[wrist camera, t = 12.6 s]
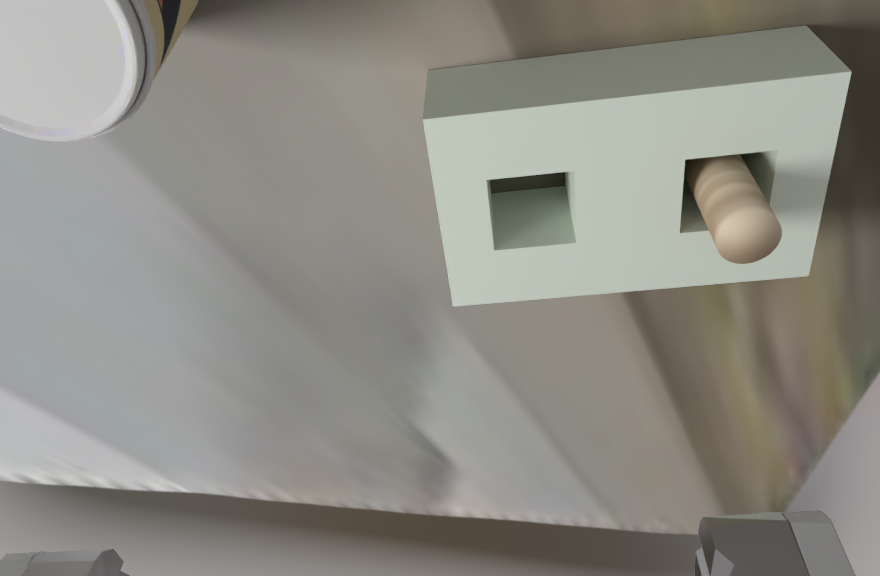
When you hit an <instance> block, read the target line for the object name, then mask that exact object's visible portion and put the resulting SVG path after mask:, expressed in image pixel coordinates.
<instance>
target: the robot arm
mask: <svg viewBox="0 0 880 576" xmlns="http://www.w3.org/2000/svg"><path fill="white" fill-rule="evenodd" d="M698 533H699V537H700V541H701V544H702V547H701V548H700V549H699V550H698V551H696V555H695V566H694V567H695V576H856V575H855V573H854V571H853V569H852V566H851V564H850V562H849V560H848V557H847V555H846V553H845V551H844V548H843V546H842V544H841V542H840V539H839V537H838V535H837V532H836V530H835V528H834V526H833V523H832V521H831V519H830V518H829V517H828V516H827V515H826V514H825V513H824V512H822V511H819V510H818V511H817V510H816V511H801V512H786V513H779V512H771V513H757V514H743V515H728V516H714V517H703V518H702V519H701V521H700V525H699V531H698ZM122 564H123V560H122V559H121V558H120V557H119V555H118V554H117V553H116V552H115V550H114V549H102V550H83V551H82V550H81V551H61V552H29V553H15V554H6V555H5V556H4V557H3V558H2V559H1V560H0V576H129V575H127V574H125V573H123V572H122V571H120V570H121V567H122Z"/></svg>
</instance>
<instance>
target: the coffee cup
mask: <svg viewBox="0 0 880 576" xmlns="http://www.w3.org/2000/svg"><path fill="white" fill-rule="evenodd" d="M198 1H199V0H0V127H1V128H3V129H5V130H8V131H10V132H13V133H16V134H19V135H22V136H25V137H29V138H34V139H39V140H45V141H61V142H64V141H74V140H84V139H89V138H94V137H97V136H101V135H104V134H106V133H108V132H110V131H113V130H114V129H116V128H118V127H119V126H121V125H122V124H124V123H125V122H126V121H127V120H128V119H130V118H131V117H132V116H133V115H134V114H135V113H136V112H137V110H138V109H139V108H140V106H141V105H142V103H143V102H144V100H145V98H146V96H147V94H148V92H149V90H150V88H151V85H152V82H153V80H154V78H155V76H156V75H157V73H158V71H159V70H160V68H161V66H162V65H163V63H164V61H165V60H166V58H167V56H168V55H169V53H170V51H171V50H172V48H173V46H174V44H175V43H176V41H177V39H178V37H179V36H180V34H181V32H182V30H183V29H184V27H185V25H186V23H187V22H188V20H189V18H190V16H191V15H192V13H193V11H194V9H195V7H196V6H197V3H198Z"/></svg>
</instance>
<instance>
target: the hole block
mask: <svg viewBox="0 0 880 576" xmlns="http://www.w3.org/2000/svg"><path fill="white" fill-rule="evenodd" d="M851 72H852V71H851V70H850V69H849V68H848V67H847V66H846V65H845V64H844V63H843V62H842V61H841V60H840V59H839V58H838V57H837V56H836V55H835V54H834V53H833V52H832V51H831V50H830V49H829V48H828V47H827V46H826V45H825V44H824V43H823V42H822V41H821V40H820V39H819V38H818V37H817V36H816V35H815V34H814V33H813V32H812V31H811V30H810V29H809V28H808V27H807V26H806V25H805V26H797V27H788V28H780V29H772V30H763V31H755V32H746V33H738V34H730V35H721V36H713V37H704V38H696V39H688V40H679V41H671V42H662V43H654V44H646V45H637V46H629V47H620V48H612V49H604V50H595V51H587V52H578V53H570V54H562V55H553V56H545V57H536V58H528V59H520V60H511V61H503V62H494V63H486V64H478V65H469V66H461V67H452V68H444V69H436V70H428V73H427V83H426V93H425V103H424V113H423V124H424V130H425V136H426V142H427V148H428V155H429V161H430V167H431V173H432V179H433V185H434V192H435V198H436V204H437V210H438V216H439V222H440V229H441V235H442V241H443V247H444V253H445V260H446V266H447V272H448V278H449V284H450V290H451V297H452V303H453V307H454V306H465V305H477V304H489V303H500V302H512V301H524V300H535V299H547V298H559V297H570V296H582V295H594V294H605V293H617V292H629V291H640V290H652V289H664V288H675V287H687V286H699V285H710V284H722V283H734V282H745V281H757V280H769V279H780V278H792V277H804V276H809V272H810V267H811V262H812V257H813V253H814V248H815V243H816V238H817V234H818V229H819V224H820V219H821V215H822V210H823V205H824V200H825V196H826V191H827V186H828V181H829V177H830V172H831V167H832V162H833V158H834V153H835V148H836V143H837V139H838V134H839V129H840V125H841V120H842V115H843V110H844V106H845V101H846V96H847V91H848V87H849V82H850V77H851ZM735 154H740V155H741V157H742V159H743V160H744V162H745V164H746V166H747V167H748V169H749V171H750V173H751V174H752V176H753V178H754V180H755V181H756V183H757V185H758V186H759V188H760V190H761V192H762V193H763V195H764V197H765V199H766V200H767V202H768V204H769V205H770V207H771V209H772V211H773V212H774V214H775V216H776V218H777V219H778V221H779V223H780V225H781V228H782V237H781V240H780V242H779V244H778V246H777V247H776V248H775V250H774V251H773V252H772V253H770V254H769V255H768V256H766V257H765V258H763V259H761V260H759V261H756V262H753V263H747V264H736V263H732V262H729V261H727V260H725V259H724V258H723V257H722V256H721V255H720V254H719V252H718V250H717V248H716V245H715V243H714V241H713V239H712V236H711V234H710V232H709V230H708V227H707V225H706V223H705V220H704V218H703V216H702V214H701V211H700V209H699V207H698V205H697V202H696V200H695V198H694V196H693V193H692V191H691V189H690V186H689V184H688V182H687V180H686V177H685V175H684V169H685V160H687V159H696V158H706V157H716V156H726V155H735ZM560 172H565V186H559V187H549V188H539V189H529V190H519V191H509V192H499V193H491V185H490V180H492V179H502V178H512V177H521V176H531V175H541V174H551V173H560Z"/></svg>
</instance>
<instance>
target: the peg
mask: <svg viewBox="0 0 880 576" xmlns="http://www.w3.org/2000/svg"><path fill="white" fill-rule="evenodd" d="M684 175H685V177H686V180H687V182H688V184H689V186H690V189H691V191H692V193H693V196H694V198H695V200H696V202H697V205H698V207H699V209H700V211H701V214H702V216H703V218H704V220H705V223H706V225H707V227H708V230H709V232H710V234H711V236H712V239H713V241H714V243H715V245H716V248H717V250H718V252H719V254H720V255H721V256H722V257H723V258H724V259H725V260H727V261H729V262H732V263H736V264H747V263H753V262H756V261H759V260H761V259H763V258H765V257H766V256H768V255H769V254H770V253H772V252H773V251H774V250H775V248H776V247H777V246H778V244H779V242H780V240H781V237H782V228H781V225H780V223H779V221H778V219H777V218H776V216H775V214H774V212H773V211H772V209H771V207H770V205H769V204H768V202H767V200H766V199H765V197H764V195H763V193H762V192H761V190H760V188H759V186H758V185H757V183H756V181H755V180H754V178H753V176H752V174H751V173H750V171H749V169H748V167H747V166H746V164H745V162H744V160H743V159H742V157H741V155H740V154H735V155H726V156H716V157H706V158H696V159H687V160H685V169H684Z"/></svg>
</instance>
